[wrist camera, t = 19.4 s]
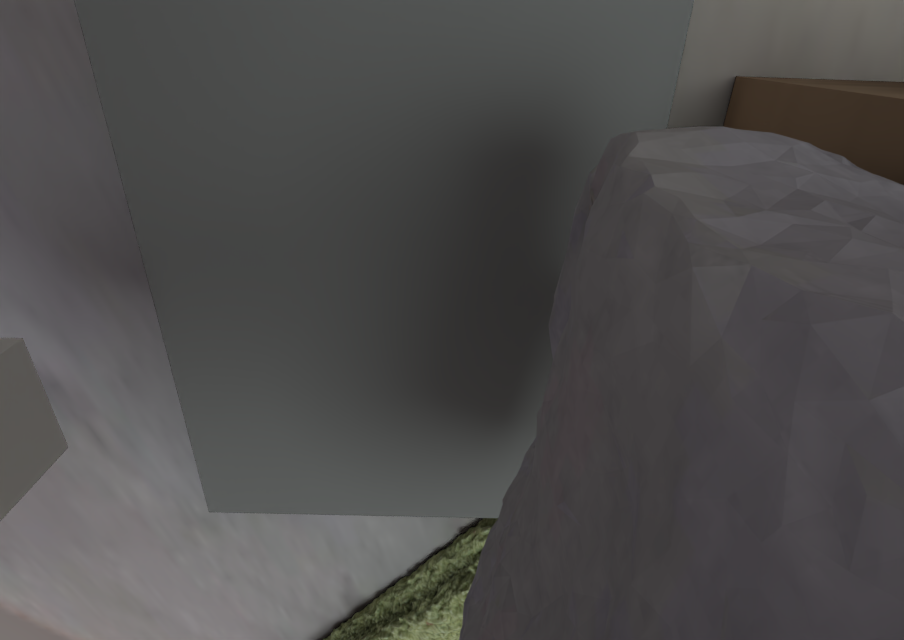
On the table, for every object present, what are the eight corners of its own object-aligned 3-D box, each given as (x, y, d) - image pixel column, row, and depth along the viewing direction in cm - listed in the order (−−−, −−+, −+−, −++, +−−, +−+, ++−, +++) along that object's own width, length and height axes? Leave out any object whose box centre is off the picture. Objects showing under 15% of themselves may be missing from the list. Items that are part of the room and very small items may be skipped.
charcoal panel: (217, 495, 20) (208, 512, 20) (73, -86, 12) (49, -93, 11) (578, 503, 21) (583, 520, 20) (693, -62, 12) (708, -68, 11)
